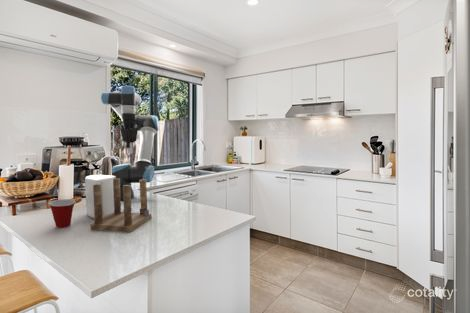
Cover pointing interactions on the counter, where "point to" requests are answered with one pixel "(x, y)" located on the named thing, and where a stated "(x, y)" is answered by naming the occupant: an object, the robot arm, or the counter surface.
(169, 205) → the counter surface
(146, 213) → the hinge bracket
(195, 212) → the counter surface
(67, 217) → the plastic cup
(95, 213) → the footstool
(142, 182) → the folding leg
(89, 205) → the white canister
